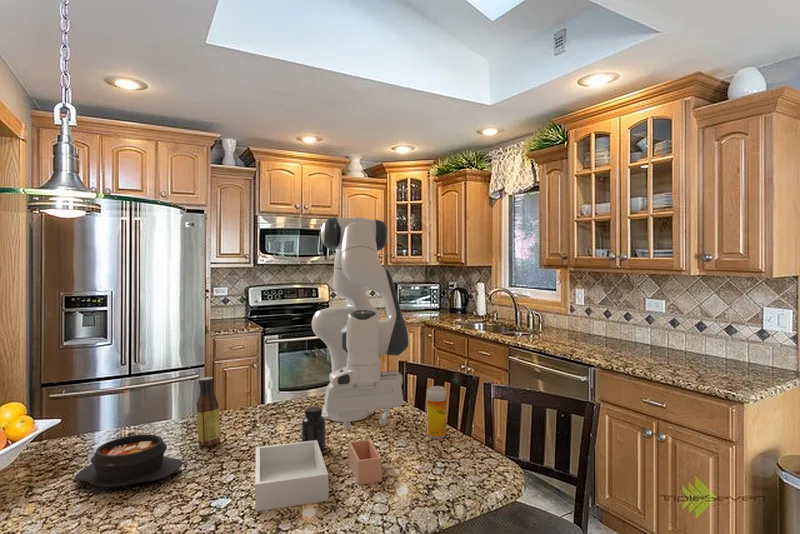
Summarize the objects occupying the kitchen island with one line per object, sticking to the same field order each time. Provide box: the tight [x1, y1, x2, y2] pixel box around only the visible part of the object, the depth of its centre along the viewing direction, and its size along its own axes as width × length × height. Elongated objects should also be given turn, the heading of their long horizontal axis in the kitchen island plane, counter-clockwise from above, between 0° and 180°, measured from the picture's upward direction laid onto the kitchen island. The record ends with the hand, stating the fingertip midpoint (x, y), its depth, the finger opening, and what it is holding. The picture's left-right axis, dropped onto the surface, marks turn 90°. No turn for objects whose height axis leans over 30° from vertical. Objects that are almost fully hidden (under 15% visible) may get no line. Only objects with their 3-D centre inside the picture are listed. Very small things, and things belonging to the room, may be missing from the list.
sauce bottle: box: [196, 376, 221, 447], centre depth 143 cm, size 7×6×20 cm
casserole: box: [74, 434, 183, 488], centre depth 121 cm, size 25×19×8 cm
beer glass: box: [426, 385, 448, 440], centre depth 147 cm, size 6×6×15 cm
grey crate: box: [254, 440, 330, 512], centre depth 116 cm, size 22×16×6 cm
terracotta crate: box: [347, 439, 383, 486], centre depth 122 cm, size 13×6×6 cm, turn 16°
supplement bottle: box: [301, 406, 326, 453], centre depth 137 cm, size 7×7×12 cm
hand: (365, 427), depth 122 cm, fingers open, 8 cm apart
